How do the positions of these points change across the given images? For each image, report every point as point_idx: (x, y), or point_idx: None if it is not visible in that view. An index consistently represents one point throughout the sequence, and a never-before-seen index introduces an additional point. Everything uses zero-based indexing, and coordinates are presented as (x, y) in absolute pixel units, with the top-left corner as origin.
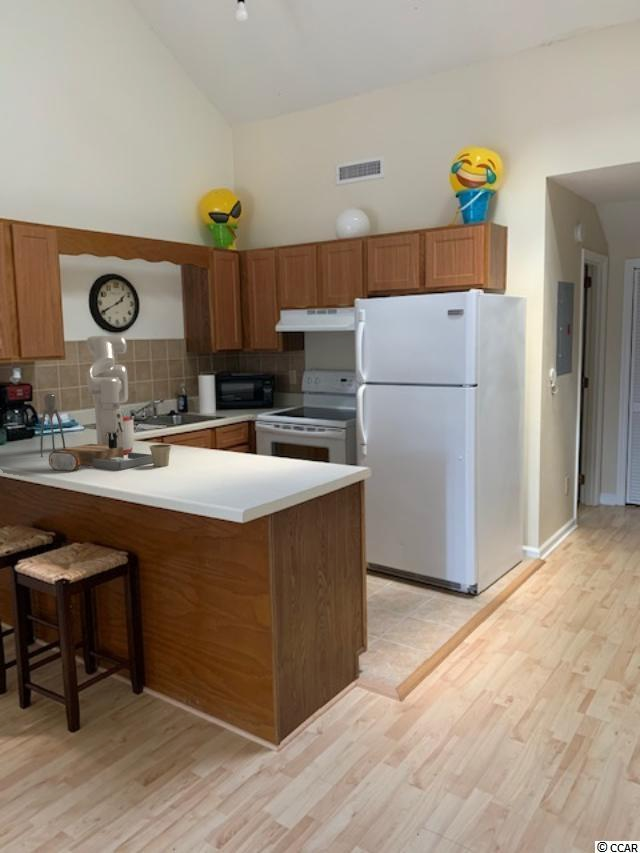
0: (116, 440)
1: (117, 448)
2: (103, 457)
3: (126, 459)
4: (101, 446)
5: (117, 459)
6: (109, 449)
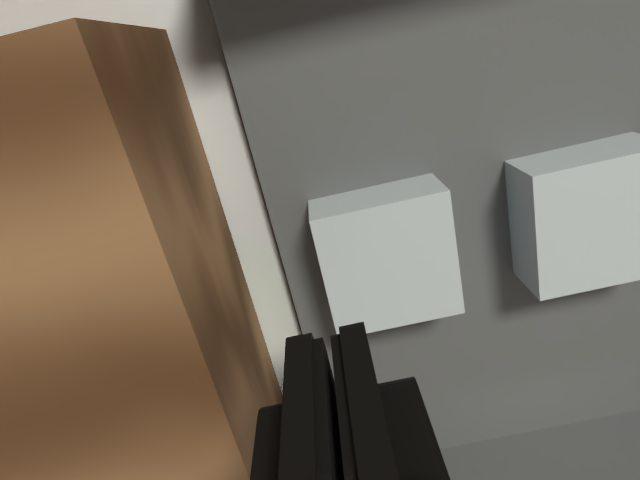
0: (390, 442)
1: (141, 186)
2: (260, 401)
3: (611, 230)
4: None
5: (461, 293)
6: (202, 369)
